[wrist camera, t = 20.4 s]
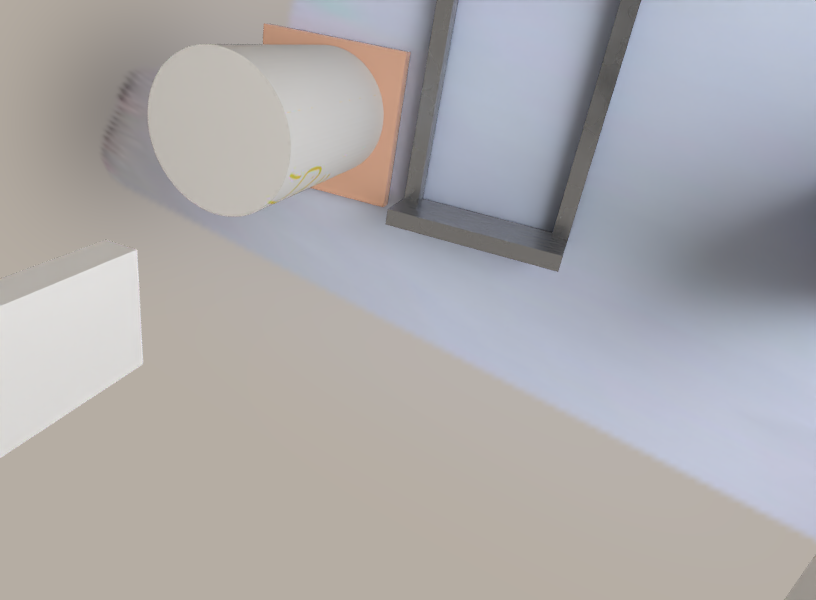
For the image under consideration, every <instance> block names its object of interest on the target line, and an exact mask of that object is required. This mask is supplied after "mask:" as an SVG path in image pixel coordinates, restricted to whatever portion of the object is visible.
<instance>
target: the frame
mask: <svg viewBox="0 0 816 600" xmlns="http://www.w3.org/2000/svg"><path fill="white" fill-rule="evenodd" d="M640 2H641V0H621V1H620V4H619V8H618V11H617V15H616V18H615V21H614V25H613V28H612V32H611V35H610V39H609V42H608V45H607V49H606V52H605V56H604V59H603V62H602V66H601V69H600V73H599V76H598V79H597V83H596V86H595V90H594V93H593V97H592V100H591V103H590V107H589V110H588V114H587V117H586V120H585V124H584V127H583V131H582V134H581V138H580V141H579V144H578V148H577V151H576V155H575V158H574V161H573V165H572V168H571V172H570V175H569V178H568V182H567V185H566V189H565V192H564V196H563V199H562V202H561V206H560V209H559V213H558V216H557V219H556V223H555V226H554V230H553V233H552V232H549V231H545V230H541V229H537V228H533V227H529V226H526V225H522V224H518V223H514V222H510V221H506V220H503V219H499V218H495V217H491V216H487V215H483V214H480V213H476V212H472V211H468V210H464V209H460V208H457V207H453V206H449V205H445V204H441V203H437V202H434V201H430V200H426V199H423V194H424V188H425V183H426V177H427V171H428V166H429V160H430V155H431V149H432V144H433V138H434V133H435V127H436V121H437V116H438V110H439V105H440V99H441V94H442V88H443V83H444V77H445V71H446V66H447V60H448V55H449V49H450V44H451V38H452V33H453V27H454V21H455V16H456V10H457V5H458V0H437V2H436V8H435V14H434V20H433V27H432V33H431V39H430V45H429V51H428V57H427V63H426V69H425V75H424V81H423V87H422V93H421V99H420V105H419V111H418V117H417V123H416V130H415V136H414V142H413V148H412V154H411V160H410V166H409V172H408V178H407V184H406V190H405V196H404V198H403V199H402V200H400V201H399V202H398V203H396V204H395V205H393V206H392V207H390V208H389V209H388V212H387V218H386V224H387V225H390V226H394V227H398V228H401V229H405V230H408V231H412V232H416V233H419V234H423V235H427V236H430V237H434V238H438V239H441V240H445V241H448V242H452V243H456V244H459V245H463V246H467V247H470V248H474V249H477V250H481V251H485V252H488V253H492V254H496V255H499V256H503V257H507V258H510V259H514V260H517V261H521V262H525V263H528V264H532V265H536V266H539V267H543V268H546V269H550V270H554V271H557V272H558V270H559V267H560V264H561V260H562V257H563V254H564V250H565V247H566V243H567V240H568V237H569V233H570V230H571V227H572V223H573V220H574V217H575V214H576V210H577V207H578V204H579V201H580V197H581V194H582V191H583V188H584V184H585V181H586V178H587V175H588V171H589V168H590V165H591V162H592V158H593V155H594V152H595V149H596V145H597V142H598V139H599V136H600V132H601V129H602V126H603V123H604V119H605V116H606V113H607V110H608V106H609V103H610V100H611V96H612V93H613V90H614V87H615V83H616V80H617V77H618V74H619V70H620V67H621V64H622V61H623V57H624V54H625V51H626V48H627V44H628V41H629V38H630V35H631V31H632V28H633V25H634V22H635V18H636V15H637V12H638V9H639V5H640Z"/></svg>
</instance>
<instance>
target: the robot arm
mask: <svg viewBox="0 0 816 600" xmlns="http://www.w3.org/2000/svg"><path fill="white" fill-rule="evenodd" d="M141 333H142V332H141V314H140V294H139V275H138V257H137V249H134V248H131V247H128V246H125V245H122V244H119V243H116V242H113V241H109V240H103V241H100V242H98V243H95V244H92V245H89V246H87V247H84V248H81V249H79V250H76V251H74V252H71V253H68V254H65V255H63V256H60V257H57V258H54V259H52V260H49V261H46V262H44V263H41V264H38V265H36V266H33V267H30V268H27V269H25V270H22V271H19V272H16V273H14V274H11V275H9V276H6V277H3V278H0V458H1V457H3V456H4V455H5V454H7V453H9V452H10V451H12V450H13V449H15V448H16V447H18V446H19V445H21V444H22V443H24V442H25V441H27V440H28V439H30V438H32V437H33V436H35V435H36V434H37V433H39V432H40V431H42V430H44V429H45V428H47V427H48V426H50V425H51V424H53V423H54V422H56V421H57V420H59V419H60V418H62V417H63V416H65V415H66V414H68V413H69V412H71V411H72V410H74V409H76V408H77V407H79V406H80V405H82V404H83V403H84V402H86V401H88V400H89V399H91V398H92V397H94V396H95V395H97V394H98V393H100V392H101V391H103V390H104V389H106V388H107V387H109V386H110V385H112V384H114V383H115V382H117V381H118V380H120V379H121V378H123V377H124V376H126V375H127V374H129V373H130V372H132V371H133V370H135V369H136V368H138V367H139V366H141V365H142V364H143V351H142V334H141ZM784 600H816V555H815V556H814V558H813V559H812V561H811V562H810V563H809V565H808V566H807V568H806V569H805V571H804V572H803V574H802V575H801V576H800V578H799V579H798V581H797V582H796V584H795V585H794V587H793V588H792V589H791V591H790V592H789V594H788V595H787V596H786V598H785V599H784Z"/></svg>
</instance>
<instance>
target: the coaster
mask: <svg viewBox="0 0 816 600" xmlns="http://www.w3.org/2000/svg"><path fill="white" fill-rule="evenodd" d="M263 31H264V32H263V44H269V45H332V46H336V47H339V48H342V49H344V50H347V51H348V52H350V53H352V54H353V55H355V56H356V57H357V58H358V59H360V60H361V61H362V62H363V63H364V64H365V66H366V67H367V68H368V69H369V71H370V72H371V74H372V75H373V77H374V79H375V80H376V83H377V85H378V87H379V90H380V93H381V97H382V102H383V110H384V119H383V127H382V132H381V135H380V138H379V141H378V143H377V145H376V147H375V149H374V150H373V152H372V153H371V154H370V156H369V157H368V158H367V159H366V160H365V161H364V162H362V163H361V164H360V165H358V166H356V167H354V168H352V169H350V170H348V171H346V172H344V173H341V174H339V175H337V176H335V177H332V178H330V179H328V180H326V181H324V182H321V183H319V184H317V185H315V186H312V187H310V188H313V189H317V190H321V191H325V192H328V193H332V194H336V195H339V196H343V197H347V198H351V199H354V200H358V201H362V202H366V203H369V204H373V205H377V206H380V207H384V206H386V205H387V204H388V197H389V191H390V184H391V178H392V171H393V165H394V158H395V151H396V145H397V138H398V132H399V125H400V119H401V112H402V105H403V99H404V92H405V86H406V79H407V73H408V66H409V59H410V53H411V52H407V51H402V50H397V49H392V48H387V47H382V46H377V45H372V44H368V43H363V42H358V41H353V40H348V39H343V38H338V37H333V36H328V35H323V34H318V33H313V32H308V31H303V30H298V29H293V28H288V27H283V26H278V25H273V24H264V30H263Z"/></svg>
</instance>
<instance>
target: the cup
mask: <svg viewBox="0 0 816 600" xmlns="http://www.w3.org/2000/svg"><path fill="white" fill-rule="evenodd" d="M383 119H384V110H383V102H382V97H381V93H380V90H379V87H378V85H377V83H376V80H375V79H374V77H373V75H372V74H371V72H370V71H369V69H368V68H367V67H366V66H365V64H364V63H363V62H362V61H361V60H360V59H358V58H357V57H356V56H355V55H353V54H352V53H350V52H348V51H347V50H344V49H342V48H339V47H336V46H332V45H269V44H259V45H258V44H257V45H256V44H254V45H253V44H200V45H194V46H189V47H187V48H184V49H182V50H180V51H178V52H177V53H175V54H174V55H172V56H171V57H170V58H169V59H168V60H167V61H166V62H165V63H164V64H163V65H162V67H161V68H160V69H159V71H158V73H157V75H156V77H155V79H154V81H153V84H152V87H151V90H150V95H149V100H148V127H149V133H150V138H151V142H152V145H153V148H154V151H155V154H156V156H157V159H158V161H159V163H160V165H161V167H162V169H163V170H164V172H165V174H166V175H167V177H168V178H169V179H170V181H171V182H172V183H173V185H174V186H175V187H176V188H177V189H178V190H179V191H180V192H181V193H182V194H183V195H184V196H185V197H186V198H187V199H188V200H190V201H191V202H192V203H194V204H195V205H197V206H199V207H200V208H202V209H204V210H206V211H208V212H211V213H214V214H217V215H221V216H228V217H239V216H245V215H249V214H252V213H254V212H257V211H259V210H261V209H264V208H266V207H268V206H270V205H272V204H275V203H277V202H279V201H281V200H284V199H286V198H288V197H290V196H292V195H295V194H297V193H299V192H301V191H304V190H306V189H308V188H310V187H312V186H315V185H317V184H319V183H321V182H324V181H326V180H328V179H330V178H332V177H335V176H337V175H339V174H341V173H344V172H346V171H348V170H350V169H352V168H354V167H356V166H358V165H360V164H361V163H362V162H364V161H365V160H366V159H367V158H368V157H369V156H370V154H371V153H372V152H373V150H374V149H375V147H376V145H377V143H378V141H379V138H380V135H381V132H382V127H383Z"/></svg>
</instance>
